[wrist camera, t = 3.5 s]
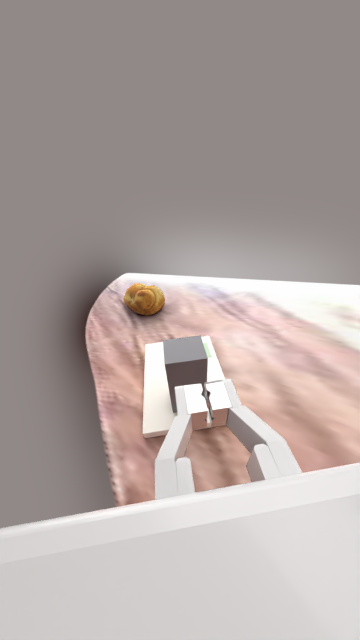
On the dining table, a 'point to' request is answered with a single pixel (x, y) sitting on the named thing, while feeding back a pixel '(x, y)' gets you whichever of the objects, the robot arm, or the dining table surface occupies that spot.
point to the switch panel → (167, 388)
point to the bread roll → (144, 299)
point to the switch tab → (184, 364)
